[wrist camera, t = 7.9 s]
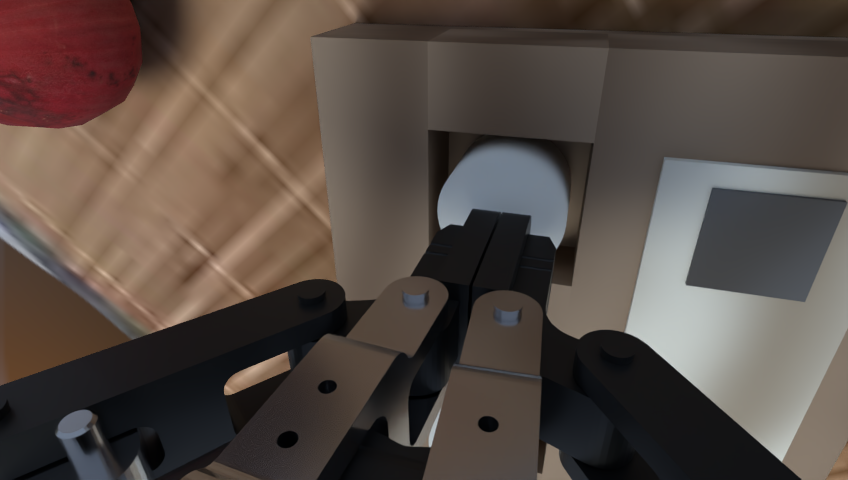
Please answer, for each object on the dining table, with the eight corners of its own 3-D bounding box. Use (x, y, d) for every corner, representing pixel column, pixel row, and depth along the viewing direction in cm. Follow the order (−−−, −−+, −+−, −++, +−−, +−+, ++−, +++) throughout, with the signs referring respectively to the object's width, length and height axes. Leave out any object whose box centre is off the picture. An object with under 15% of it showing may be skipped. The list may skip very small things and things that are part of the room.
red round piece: (224, 60, 19) (12, 124, 12) (126, 119, 21) (-94, 198, 14) (123, -115, 17) (-196, -154, 10) (29, -27, 19) (-276, -11, 13)
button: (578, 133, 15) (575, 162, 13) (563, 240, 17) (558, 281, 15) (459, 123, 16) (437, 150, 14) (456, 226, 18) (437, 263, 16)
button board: (969, 41, 13) (1073, 68, 10) (699, 609, 25) (711, 691, 22) (354, 23, 17) (304, 38, 14) (388, 520, 29) (366, 580, 27)
